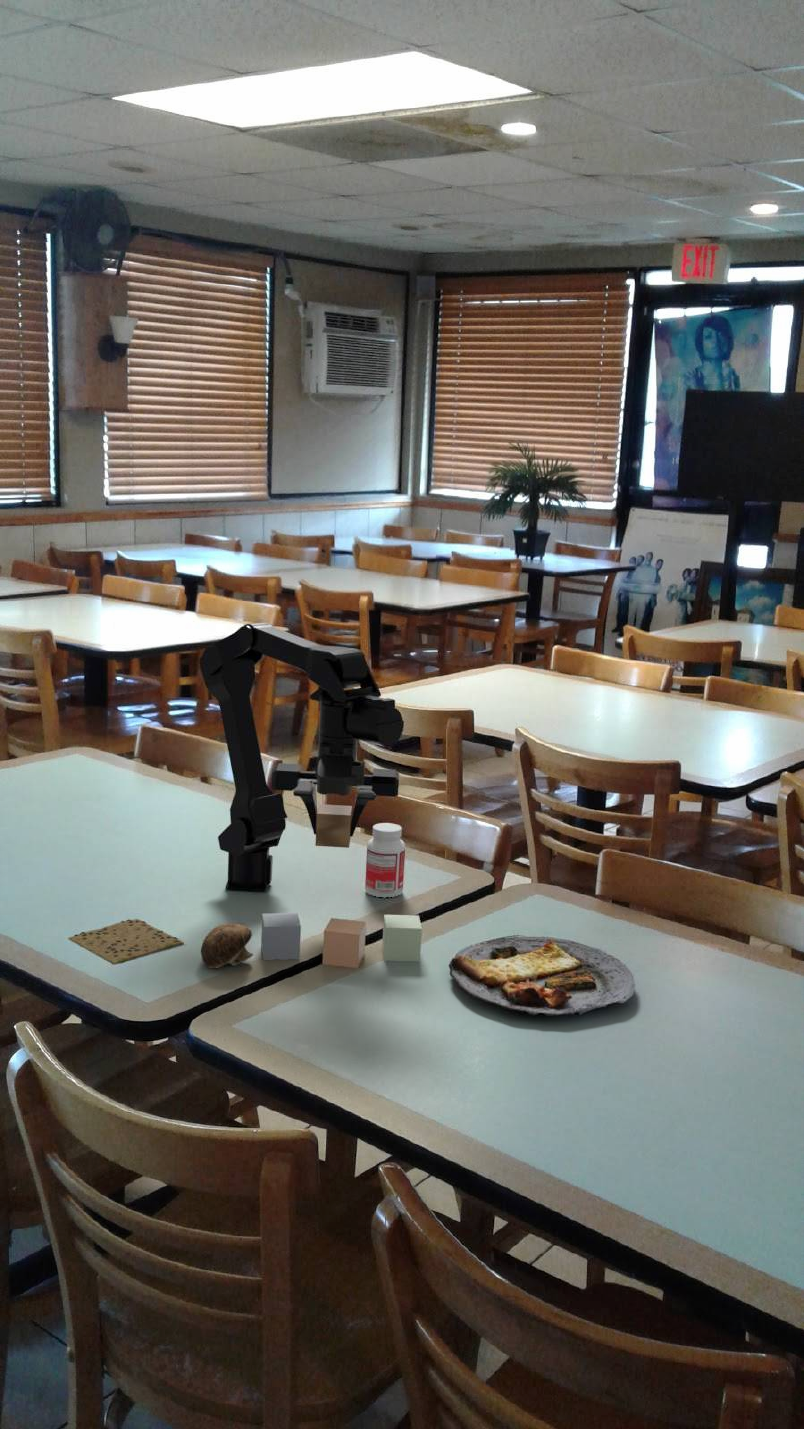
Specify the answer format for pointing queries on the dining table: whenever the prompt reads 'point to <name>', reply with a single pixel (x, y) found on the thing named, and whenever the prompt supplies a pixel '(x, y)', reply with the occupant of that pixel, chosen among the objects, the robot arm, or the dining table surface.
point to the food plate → (541, 975)
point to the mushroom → (226, 945)
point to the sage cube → (401, 938)
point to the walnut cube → (333, 825)
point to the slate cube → (280, 936)
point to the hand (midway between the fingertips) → (333, 834)
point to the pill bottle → (385, 861)
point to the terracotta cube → (344, 942)
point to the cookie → (125, 941)
